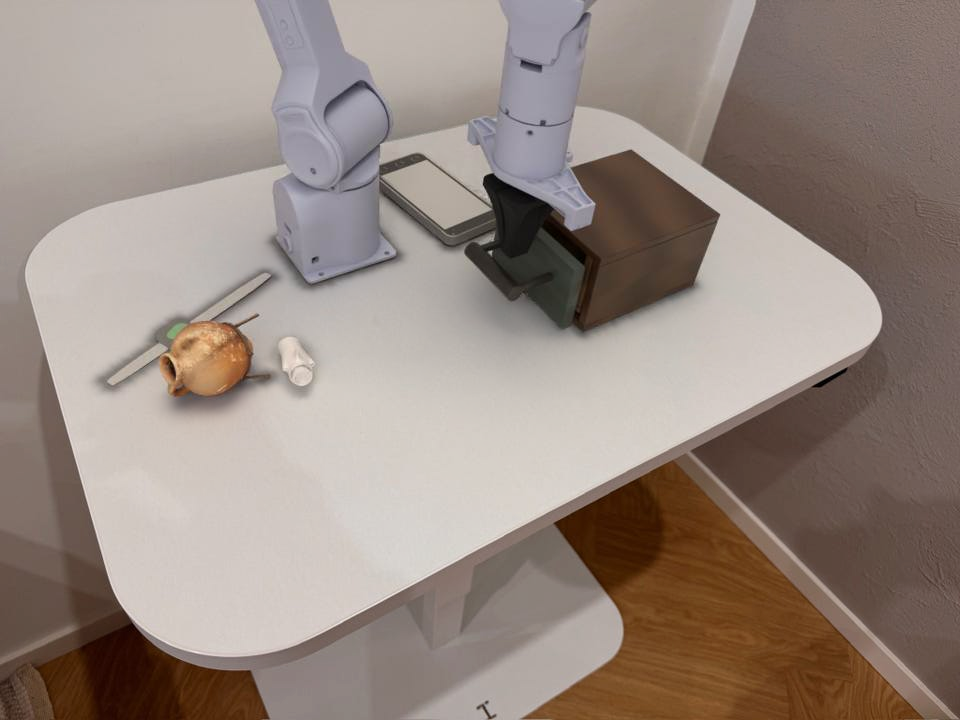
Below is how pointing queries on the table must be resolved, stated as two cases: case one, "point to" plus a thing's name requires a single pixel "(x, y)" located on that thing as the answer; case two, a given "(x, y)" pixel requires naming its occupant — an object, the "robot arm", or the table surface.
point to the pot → (208, 358)
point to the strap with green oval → (172, 329)
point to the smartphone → (436, 198)
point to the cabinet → (636, 236)
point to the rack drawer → (539, 272)
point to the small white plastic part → (295, 361)
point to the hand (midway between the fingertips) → (514, 251)
